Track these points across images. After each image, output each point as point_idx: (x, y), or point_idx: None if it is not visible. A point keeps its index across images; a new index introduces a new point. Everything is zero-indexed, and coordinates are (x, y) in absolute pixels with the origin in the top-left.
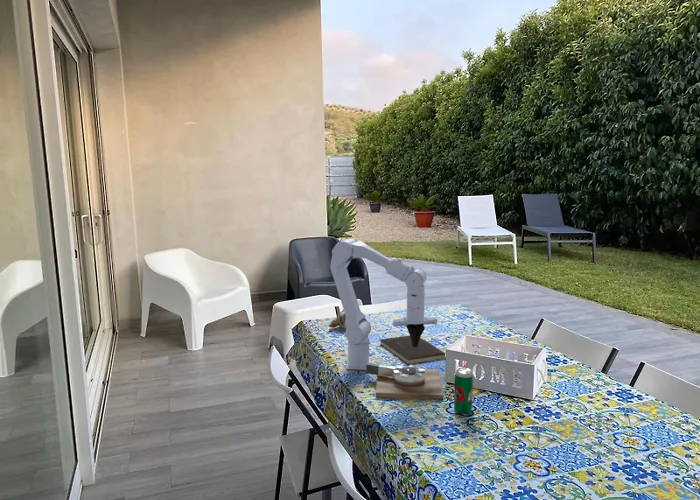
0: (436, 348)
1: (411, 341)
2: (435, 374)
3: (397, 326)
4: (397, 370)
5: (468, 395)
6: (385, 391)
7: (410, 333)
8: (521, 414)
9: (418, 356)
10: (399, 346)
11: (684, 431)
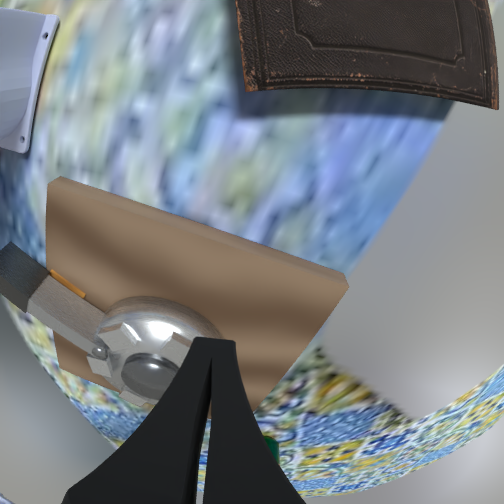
0: (487, 23)
1: (183, 361)
2: (300, 328)
3: (3, 497)
4: (104, 363)
5: None
6: (82, 372)
7: (152, 440)
8: (353, 448)
9: (344, 69)
10: None
11: (458, 447)
